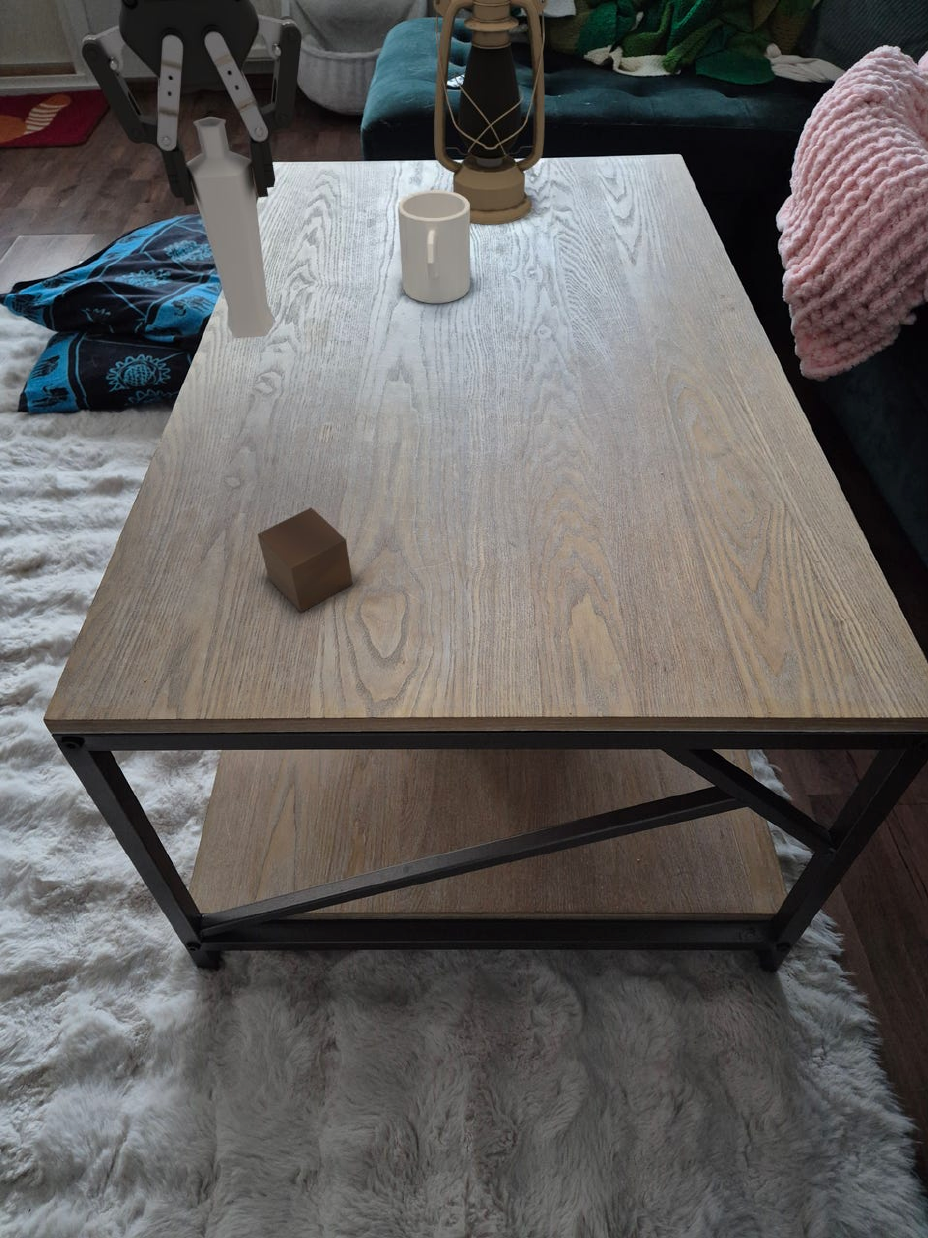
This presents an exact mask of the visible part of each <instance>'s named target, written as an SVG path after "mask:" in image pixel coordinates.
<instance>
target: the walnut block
mask: <svg viewBox="0 0 928 1238" xmlns="http://www.w3.org/2000/svg"><path fill="white" fill-rule="evenodd" d="M257 537H258V541H259V546H260V549H261V553H262V558H263V563H264V566H265V570H266V574H267V579H268V580H269V581H270V582H271V583H272V584H273V585H274V586H275V587H276V588H277V589H278V590H279V591H280V592H281V594H282V595H284V597H285V598H286V599H287V600H288V601H289V602H290V603H291V604H292V605H293V606H294V607H295V609H297V610H298V611H299V612H300V613H304V611H307V610H308V609H310V608H312V607H314V606H316V605H318V604H320V603H321V602H323V601H325V600H326V599H328V598H330V597H332V596H334V595H335V594H337V593H339V592H341V591H342V590H344V589H346V588H349V587H350V586H351V585H353V578H352V577H353V576H352V571H351V565H350V557H349V551H348V544H347V539H346V538H345V537H344V536H343V535H342V534H341V533H340V532H338V530H336V529H335V528H334V527H333V526H332V525H331V524H330V523H329V522H328V521H327V520H325V518H323V517H322V516H321V515H320V514H319V513H318V512H317V511H316V509H314V508H312V507H309V508H307V509H305V510H302V511H301V512H298V513H296V514H295V515H293V516H291V517H289V518H287V519H285V520H283V521H281V522H279V523H277V524H275V525H273V526H271V527H269V528H266V529H264V530H263V531H260V532H259V533H257Z"/></svg>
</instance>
